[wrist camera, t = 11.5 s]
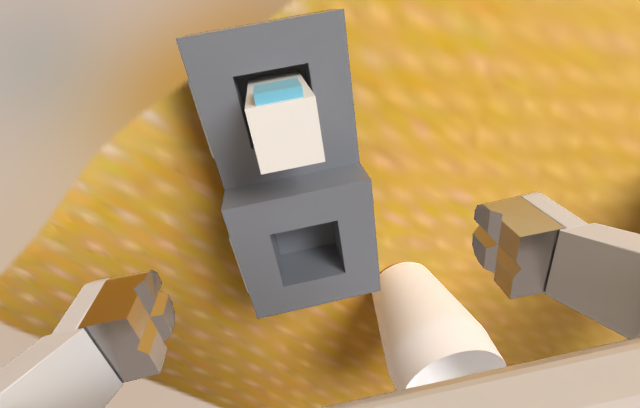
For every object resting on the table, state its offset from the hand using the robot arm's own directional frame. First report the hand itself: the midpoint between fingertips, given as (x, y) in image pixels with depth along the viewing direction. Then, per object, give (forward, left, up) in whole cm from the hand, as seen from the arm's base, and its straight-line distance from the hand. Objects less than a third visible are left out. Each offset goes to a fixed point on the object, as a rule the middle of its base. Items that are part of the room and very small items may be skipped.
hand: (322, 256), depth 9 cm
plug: (0, 0, -19) cm, 19 cm away
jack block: (0, +5, -20) cm, 21 cm away
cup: (-9, +22, -21) cm, 31 cm away
